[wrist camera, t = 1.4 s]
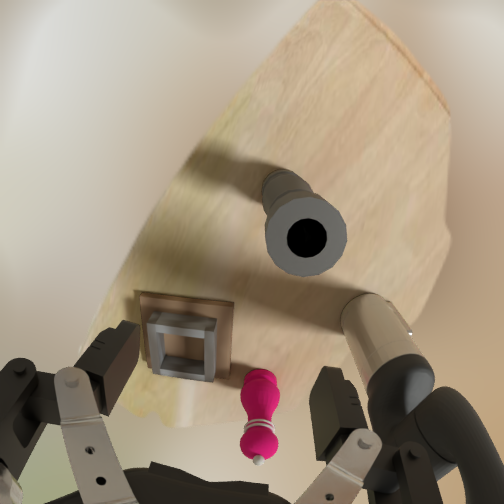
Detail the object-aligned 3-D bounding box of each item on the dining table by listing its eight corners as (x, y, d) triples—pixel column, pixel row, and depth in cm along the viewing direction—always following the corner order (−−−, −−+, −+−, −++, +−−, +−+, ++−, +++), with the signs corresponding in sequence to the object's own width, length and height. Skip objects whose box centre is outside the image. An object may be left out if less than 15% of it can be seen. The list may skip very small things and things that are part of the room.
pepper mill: (240, 367, 55) (231, 452, 36) (278, 365, 55) (283, 451, 36) (243, 393, 57) (236, 475, 38) (279, 392, 57) (283, 474, 38)
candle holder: (309, 202, 45) (359, 264, 21) (270, 216, 46) (278, 291, 22) (296, 163, 43) (336, 180, 19) (255, 177, 44) (248, 211, 20)
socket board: (233, 302, 50) (230, 319, 45) (229, 374, 56) (226, 393, 50) (142, 292, 51) (130, 307, 45) (150, 363, 56) (141, 380, 51)
